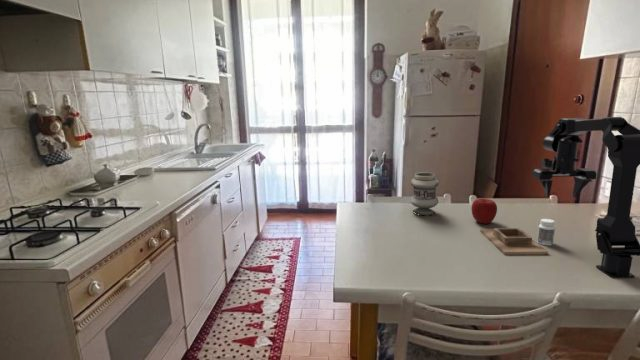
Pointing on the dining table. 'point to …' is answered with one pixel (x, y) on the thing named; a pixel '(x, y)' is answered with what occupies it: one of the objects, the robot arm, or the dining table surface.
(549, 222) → the pill bottle
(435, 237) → the dining table surface
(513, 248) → the wooden tray with holder
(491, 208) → the apple
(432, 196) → the apothecary jar
